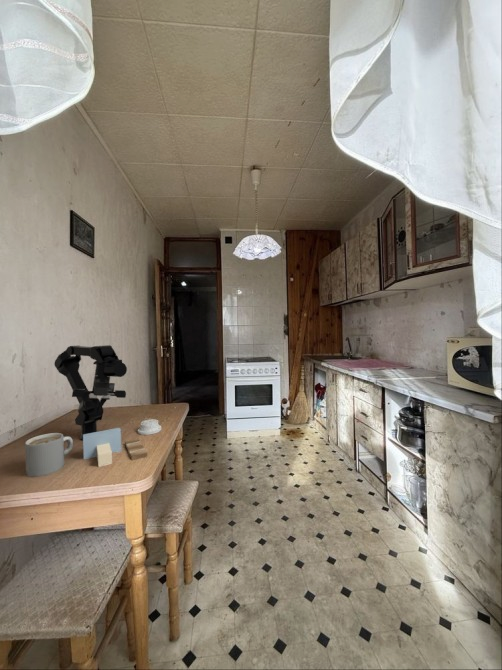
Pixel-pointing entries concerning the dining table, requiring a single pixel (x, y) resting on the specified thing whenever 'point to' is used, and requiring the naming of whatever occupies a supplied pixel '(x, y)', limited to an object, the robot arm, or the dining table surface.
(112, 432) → the light blue upright panel
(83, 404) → the robot arm
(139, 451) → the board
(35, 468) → the coffee mug
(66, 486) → the dining table surface
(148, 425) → the mechanical component
